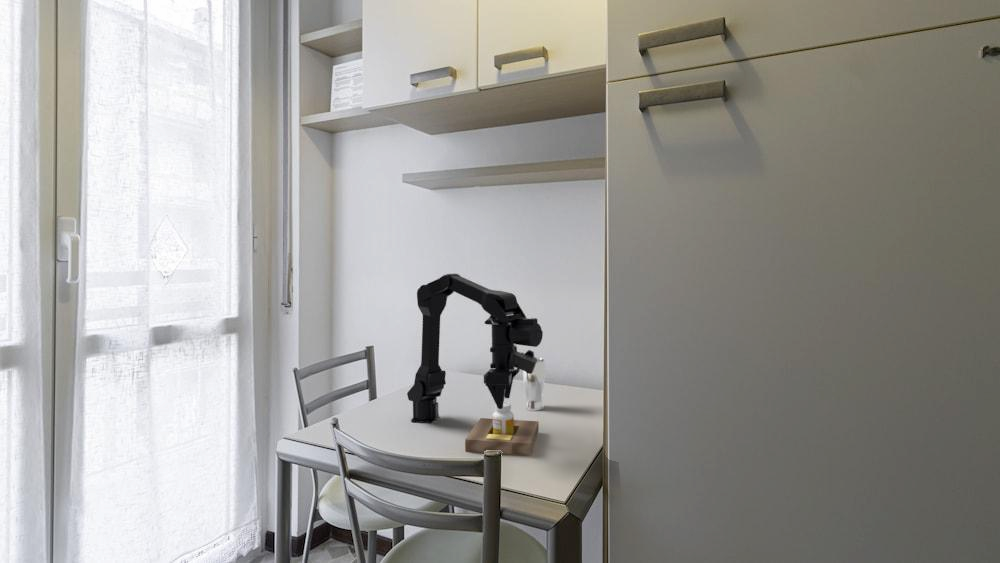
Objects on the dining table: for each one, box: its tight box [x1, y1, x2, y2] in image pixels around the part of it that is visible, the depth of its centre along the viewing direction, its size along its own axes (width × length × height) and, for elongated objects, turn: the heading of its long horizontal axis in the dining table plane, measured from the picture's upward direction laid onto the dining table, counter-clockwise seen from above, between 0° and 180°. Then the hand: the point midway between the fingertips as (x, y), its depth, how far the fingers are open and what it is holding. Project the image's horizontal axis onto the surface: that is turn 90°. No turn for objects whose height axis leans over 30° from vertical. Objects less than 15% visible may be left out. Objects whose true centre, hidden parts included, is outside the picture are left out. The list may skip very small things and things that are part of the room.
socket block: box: [464, 417, 540, 457], centre depth 129 cm, size 16×16×3 cm
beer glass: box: [522, 357, 546, 412], centre depth 157 cm, size 7×7×15 cm
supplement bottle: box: [492, 401, 515, 436], centre depth 129 cm, size 5×5×10 cm
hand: (503, 403), depth 129 cm, fingers open, 9 cm apart
